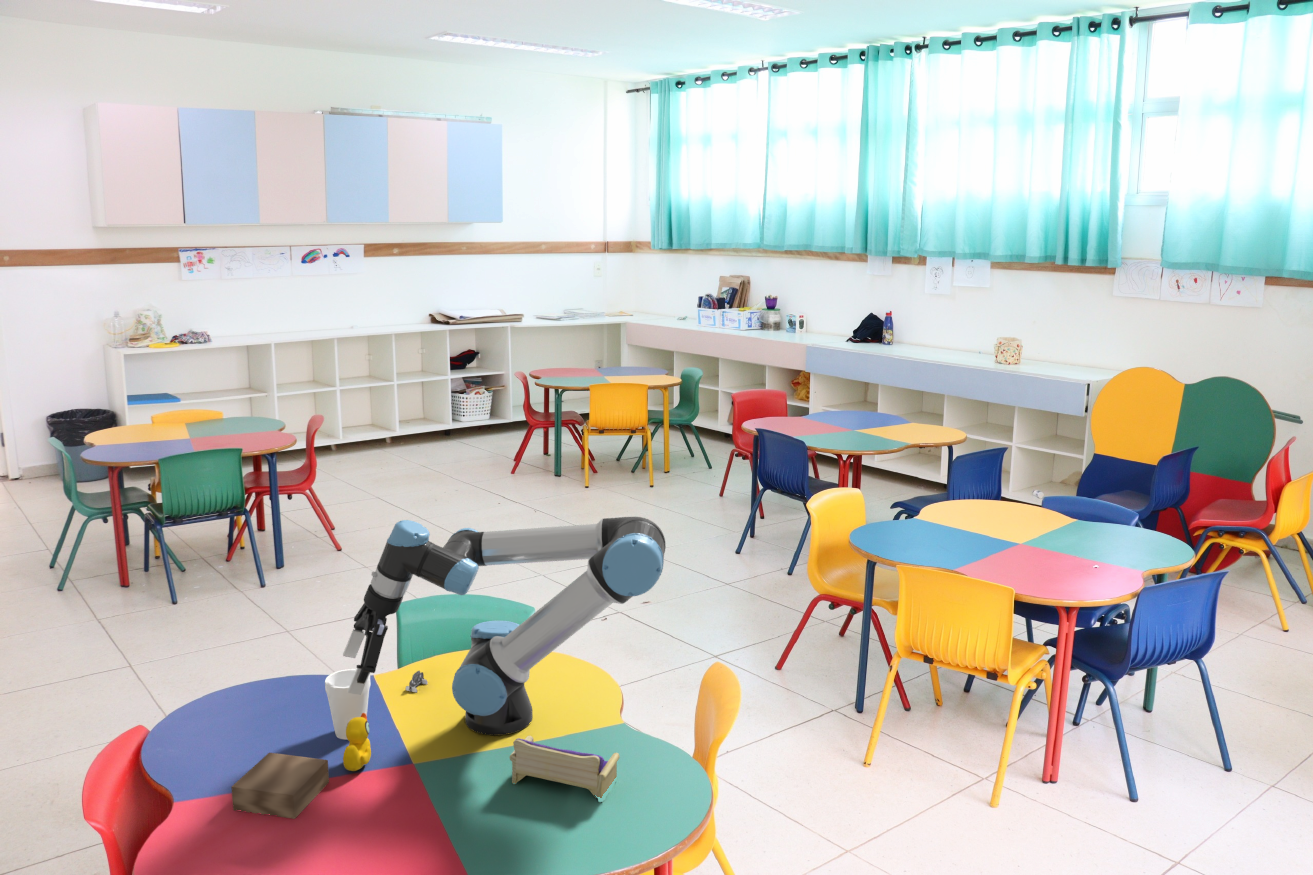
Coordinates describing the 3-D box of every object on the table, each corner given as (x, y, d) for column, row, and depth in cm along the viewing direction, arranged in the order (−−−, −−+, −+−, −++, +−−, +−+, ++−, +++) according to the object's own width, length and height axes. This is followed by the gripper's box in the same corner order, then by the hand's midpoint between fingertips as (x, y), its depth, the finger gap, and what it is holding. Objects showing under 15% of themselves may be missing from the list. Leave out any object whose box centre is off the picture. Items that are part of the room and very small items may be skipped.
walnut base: (329, 782, 207) (327, 759, 206) (294, 818, 195) (293, 795, 194) (270, 774, 210) (269, 752, 208) (233, 810, 197) (231, 786, 196)
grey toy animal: (421, 697, 244) (420, 680, 244) (397, 693, 247) (396, 675, 246) (454, 671, 258) (453, 655, 257) (431, 667, 260) (430, 651, 259)
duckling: (353, 749, 220) (351, 707, 217) (378, 750, 220) (376, 707, 217) (337, 778, 209) (334, 733, 206) (363, 779, 209) (360, 734, 206)
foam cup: (378, 723, 231) (376, 670, 228) (363, 744, 222) (360, 689, 219) (338, 720, 232) (335, 667, 229) (321, 741, 223) (317, 686, 220)
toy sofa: (620, 782, 209) (620, 737, 207) (604, 805, 201) (604, 758, 199) (527, 763, 216) (527, 719, 213) (508, 785, 208) (507, 739, 205)
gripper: (363, 557, 223) (330, 638, 228) (375, 617, 202) (338, 706, 206) (396, 565, 226) (363, 645, 231) (411, 625, 205) (374, 712, 210)
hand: (351, 674), depth 219 cm, fingers open, 13 cm apart
